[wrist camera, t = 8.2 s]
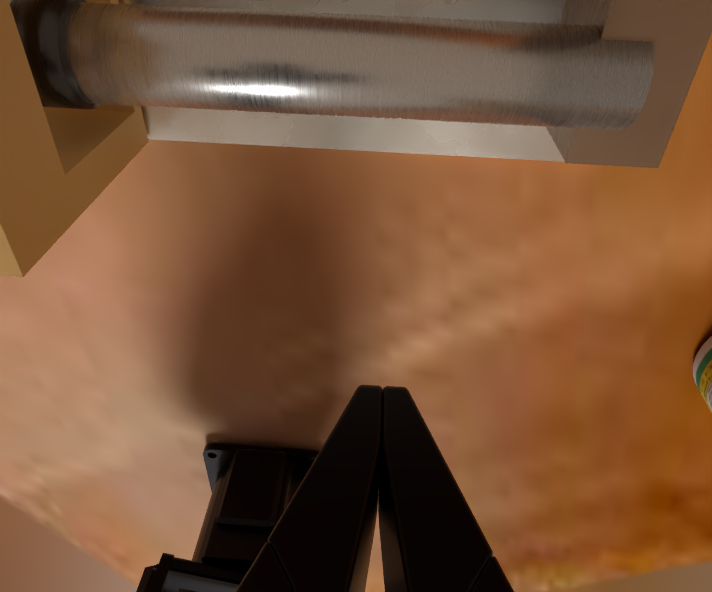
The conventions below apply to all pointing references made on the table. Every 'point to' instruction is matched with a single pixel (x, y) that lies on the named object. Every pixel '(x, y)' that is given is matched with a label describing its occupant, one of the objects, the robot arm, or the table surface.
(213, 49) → the grey piece
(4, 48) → the tan wooden block
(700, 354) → the supplement bottle
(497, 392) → the table surface
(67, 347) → the table surface
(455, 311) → the table surface
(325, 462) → the robot arm
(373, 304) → the table surface
